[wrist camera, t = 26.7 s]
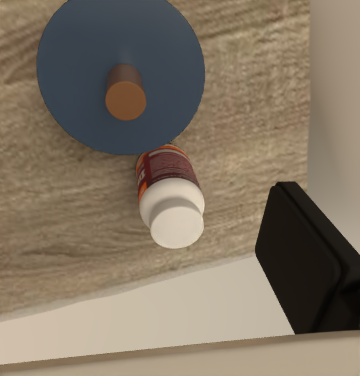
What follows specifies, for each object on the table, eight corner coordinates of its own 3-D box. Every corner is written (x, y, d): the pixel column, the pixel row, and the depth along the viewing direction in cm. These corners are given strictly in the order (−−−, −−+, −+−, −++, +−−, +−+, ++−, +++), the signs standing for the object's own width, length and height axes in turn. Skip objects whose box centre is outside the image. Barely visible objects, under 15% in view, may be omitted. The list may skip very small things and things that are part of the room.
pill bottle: (129, 148, 36) (133, 208, 26) (184, 136, 36) (208, 190, 27) (142, 195, 39) (150, 261, 30) (193, 183, 39) (216, 246, 30)
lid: (23, 121, 27) (1, 154, 22) (63, -54, 21) (46, -63, 16) (165, 167, 31) (175, 204, 26) (229, 32, 26) (257, 45, 20)
